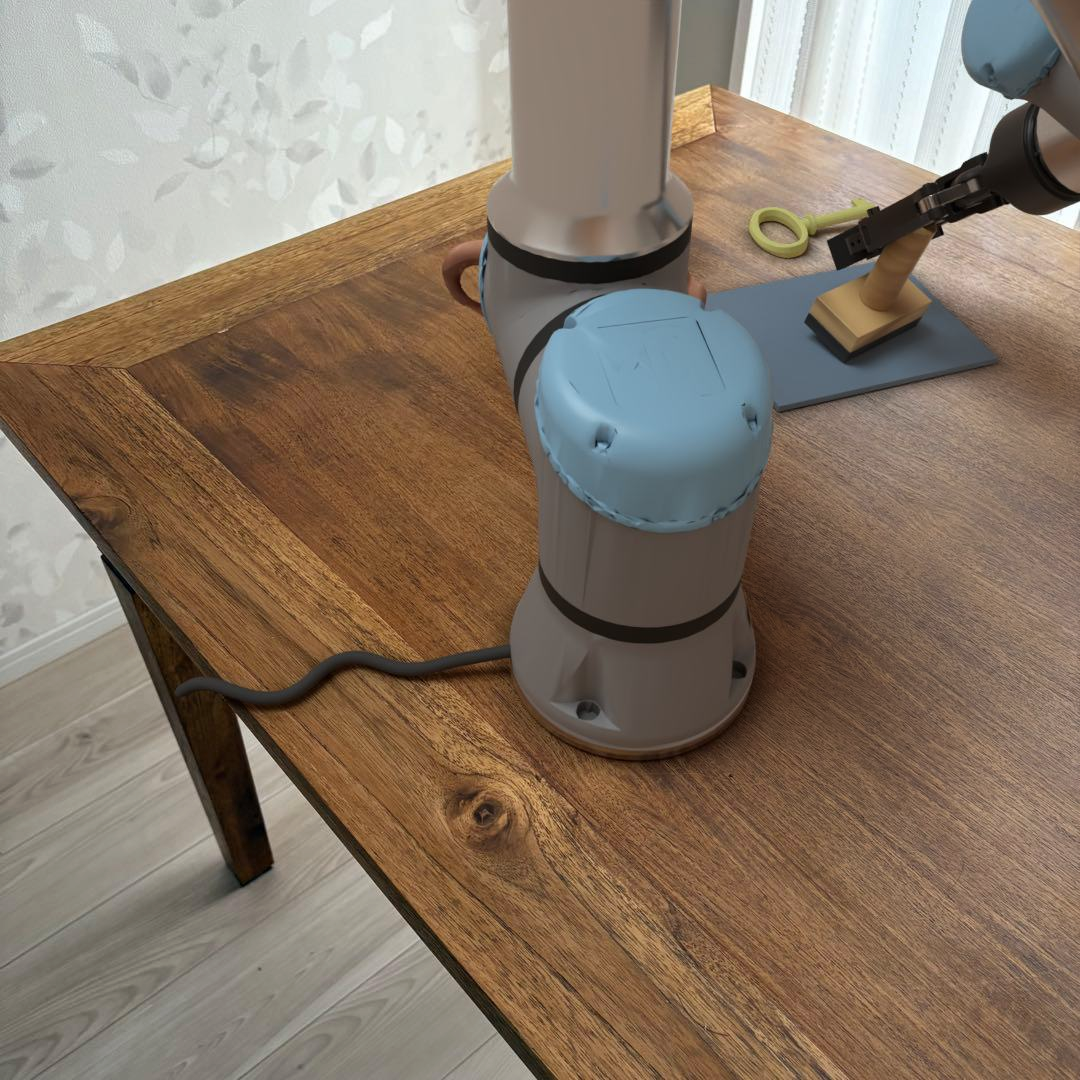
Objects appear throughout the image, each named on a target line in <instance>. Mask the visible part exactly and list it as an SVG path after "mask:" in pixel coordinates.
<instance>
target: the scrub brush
mask: <svg viewBox="0 0 1080 1080" xmlns="http://www.w3.org/2000/svg"><path fill="white" fill-rule="evenodd" d="M936 231H937V226H936V224H935V225H932V226H929V227H927V228H923V227H922V228H920V229H918V230H916V231H914V232H912V233H910V234H908V235H906V236H904V237H901V238H899V239H897V240H895V241H893V242H891V243H889V244H887V245H885V247H884V249H883V251H882V253H881V254H880V255H879V256H878V258H877V260H876V261H875V262H876V263H875V265H874V267H873V269H872V270H871V272H869V273H867V274H865V275H863V276H861V277H859V278H857V279H854V280H852V281H850V282H848V283H846V284H844V285H841V286H839V287H837V288H835V289H833V290H831V291H828V292H826V293H824V294H822V295H820V296H818V297H817V298H816V300H815V302H814V304H813V306H812V308H811V310H810V311H809V313H808V315H807V317H806V319H805V321H804V323H805V324H806V325H807V326H808V327H809V328H810V329H811V330H812V331H813V332H814V333H815V334H816V335H817V336H818V337H819V338H820V339H821V340H822V341H823V342H824V343H825V344H826V345H827V346H828V347H829V348H830V349H831V350H832V351H833V352H834V353H835V354H836V355H837V356H838V357H839V358H840V359H841V360H842V361H843V362H844V363H845V362H847V361H849V360H851V359H853V358H855V357H857V356H858V355H860V354H862V353H864V352H866V351H868V350H870V349H872V348H874V347H876V346H878V345H880V344H882V343H884V342H886V341H888V340H890V339H892V338H894V337H896V336H898V335H900V334H902V333H904V332H906V331H908V330H910V329H912V328H914V327H916V326H917V324H918V323H919V321H920V320H921V318H922V316H923V315H924V313H925V312H926V310H927V309H928V307H929V305H930V304H931V302H932V300H930V299H929V298H928V297H927V296H926V295H925V294H924V293H923V292H922V291H921V290H920V289H919V288H918V287H917V286H915V285H914V284H913V283H912V282H911V281H910V280H909V279H908V278H909V276H910V274H912V272H913V271H914V269H915V268H916V267H917V264H918V263H919V261H920V259H921V257H922V256H923V254H924V252H925V251H926V249H927V248H928V246H929V244H930V243H931V241H932V240H931V239H932V238H933V236H934V234H935V233H936Z"/></svg>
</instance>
